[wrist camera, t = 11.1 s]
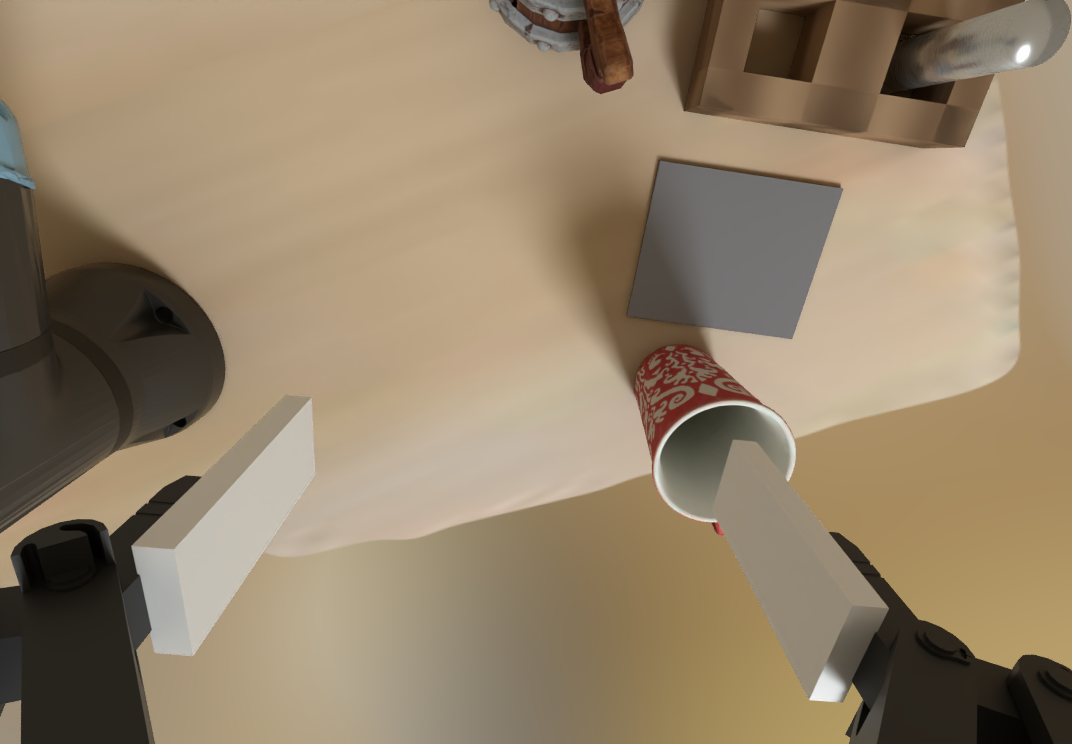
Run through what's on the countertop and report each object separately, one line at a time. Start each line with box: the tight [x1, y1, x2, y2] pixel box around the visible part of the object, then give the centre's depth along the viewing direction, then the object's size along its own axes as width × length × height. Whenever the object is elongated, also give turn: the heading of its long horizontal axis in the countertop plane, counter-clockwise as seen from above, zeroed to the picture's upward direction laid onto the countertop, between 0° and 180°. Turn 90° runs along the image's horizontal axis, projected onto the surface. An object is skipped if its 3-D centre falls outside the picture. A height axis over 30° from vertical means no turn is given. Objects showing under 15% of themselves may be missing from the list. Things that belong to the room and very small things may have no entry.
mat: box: [627, 161, 843, 339], centre depth 41 cm, size 14×12×1 cm
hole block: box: [684, 0, 1025, 148], centre depth 35 cm, size 18×9×4 cm, turn 82°
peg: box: [880, 0, 1071, 94], centre depth 31 cm, size 3×3×12 cm
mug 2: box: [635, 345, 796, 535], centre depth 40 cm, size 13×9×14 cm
